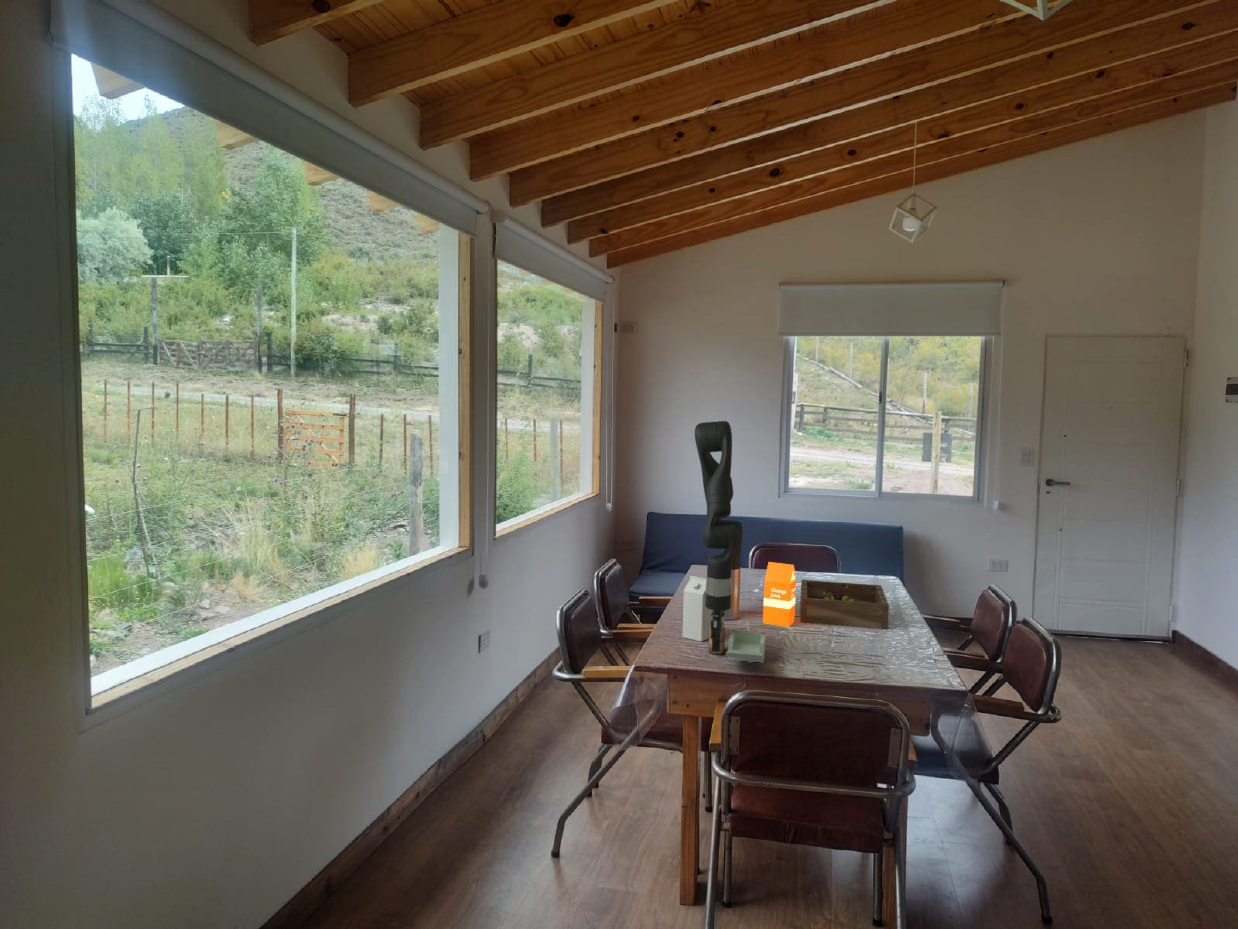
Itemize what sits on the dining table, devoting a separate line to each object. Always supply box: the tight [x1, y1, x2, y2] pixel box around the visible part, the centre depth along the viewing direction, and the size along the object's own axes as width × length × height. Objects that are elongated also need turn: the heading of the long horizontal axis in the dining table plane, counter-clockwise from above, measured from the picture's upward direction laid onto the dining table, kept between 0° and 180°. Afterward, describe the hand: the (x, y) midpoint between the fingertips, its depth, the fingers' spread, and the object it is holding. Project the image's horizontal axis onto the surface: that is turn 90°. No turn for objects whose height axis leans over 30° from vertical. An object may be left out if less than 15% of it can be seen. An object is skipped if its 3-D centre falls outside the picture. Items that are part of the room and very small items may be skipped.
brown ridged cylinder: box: [708, 623, 726, 655], centre depth 236 cm, size 5×5×8 cm
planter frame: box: [799, 579, 890, 631], centre depth 279 cm, size 28×28×8 cm
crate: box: [727, 629, 767, 664], centre depth 233 cm, size 10×10×6 cm
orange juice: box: [762, 561, 797, 628], centre depth 268 cm, size 8×9×20 cm
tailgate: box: [725, 649, 763, 660], centre depth 223 cm, size 1×10×11 cm
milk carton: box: [682, 575, 713, 642], centre depth 250 cm, size 7×7×19 cm
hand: (716, 648), depth 237 cm, fingers closed on brown ridged cylinder, 4 cm apart
